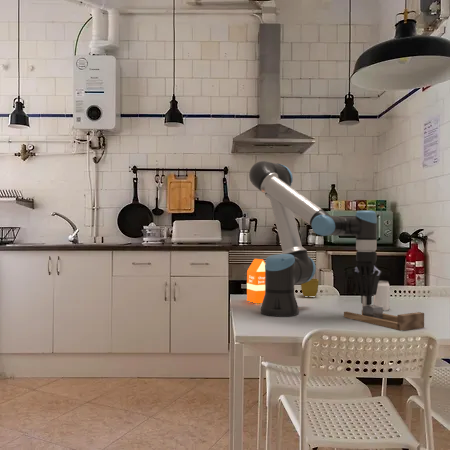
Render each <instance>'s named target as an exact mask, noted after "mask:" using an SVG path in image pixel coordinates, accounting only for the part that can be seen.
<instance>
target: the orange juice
mask: <svg viewBox="0 0 450 450" xmlns="http://www.w3.org/2000/svg"><path fill="white" fill-rule="evenodd" d="M265 262H266V261H264V259H260V258H254V259H253V260H252V262H251V264H250V265H249V267H248V269H247V271H246V302H247V301H250V302H253V303H262V302H263V299H264V296H265ZM250 302H249V303H250ZM253 303H252V304H253Z"/></svg>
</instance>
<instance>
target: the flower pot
mask: <svg viewBox="0 0 450 450" xmlns="http://www.w3.org/2000/svg"><path fill="white" fill-rule="evenodd" d="M319 281H320V280H319V279H318V278H312V279H311V280H310V281H308V282H306V283H303V284H300V289H301V293H302V295H303V297H304V296H315V297H316V296H317V294H318V290H319Z"/></svg>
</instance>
